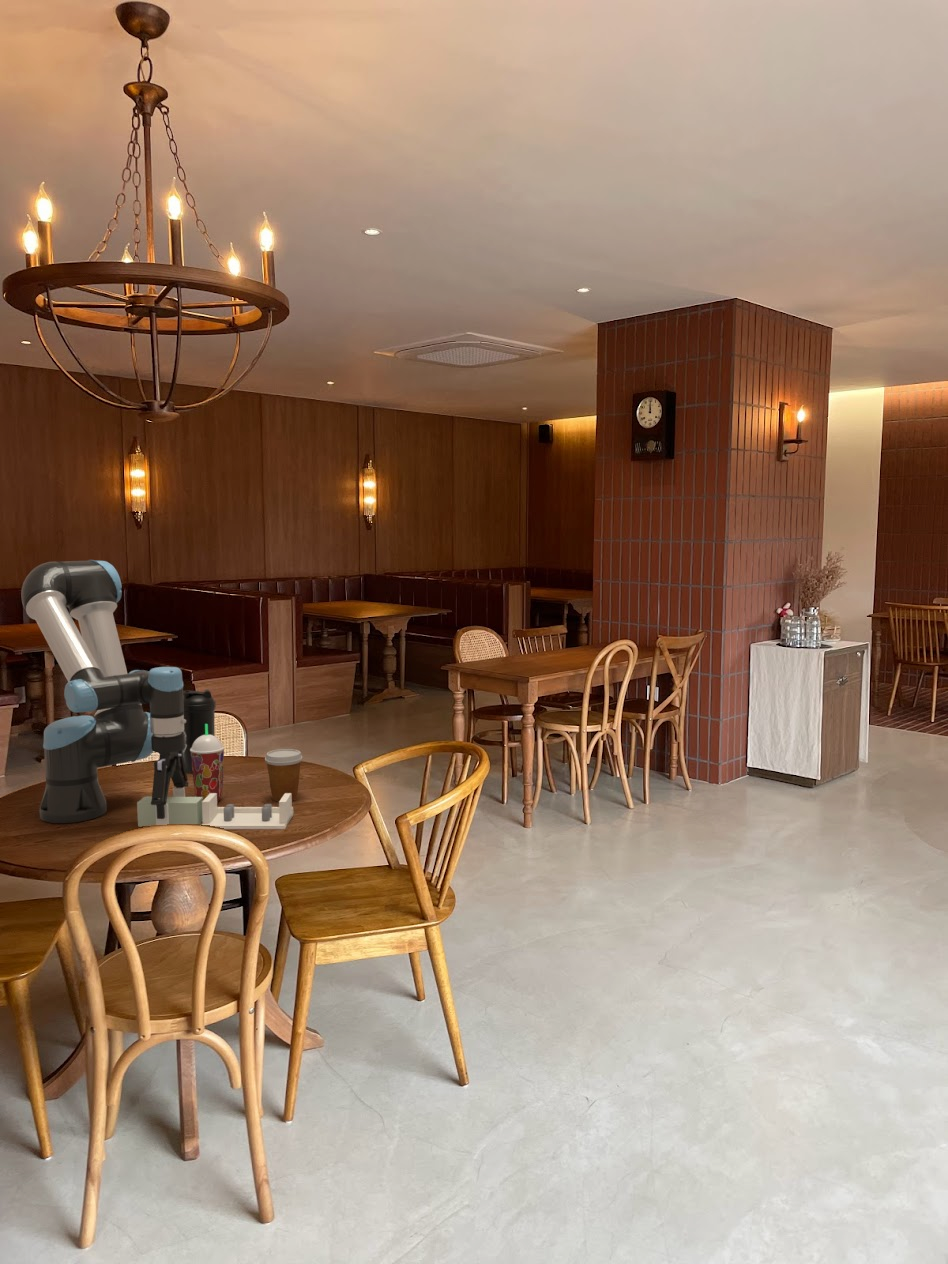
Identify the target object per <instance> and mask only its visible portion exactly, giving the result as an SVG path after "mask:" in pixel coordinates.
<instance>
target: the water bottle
mask: <svg viewBox="0 0 948 1264" xmlns="http://www.w3.org/2000/svg"><path fill="white" fill-rule="evenodd" d="M183 703H184V719H185V720H186V723H184V731H183V733H184V734H185V748H184V749H183V758H184V763H185V768H186V774H191V775H193V772H192V762H191V752H190V749H191V748H192V745H193V743H194V741H195V740H196V739H197V738H198V737H200V736H202V735H205V724H208V734H210V735H213V736H215V735H216V734H215V733H216V732H215V710H216V700H215V699H214V697H213V696H212V692H211V691H210V689H204V690H203V691H197V690H189V689H188V690H183ZM215 737H216V736H215Z"/></svg>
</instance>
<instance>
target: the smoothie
mask: <svg viewBox="0 0 948 1264" xmlns="http://www.w3.org/2000/svg"><path fill="white" fill-rule="evenodd" d="M224 750H225V746H224V745H223V743H222V742H221V740H220V739H219V738H218V737H217V736H213V735H210V734H208V724H205V735H202V736H200V737H198V738H197V739H196V740H195V741H194V743H193V745H192V748H191V749H190V752H191V762H192V772H193V774H192V779H193V780H192V781H193V788H194V789H193V790H194V791H193V792H194V797H203V800H204V799H205V798H206V797H207V796H208V795H209V794H210V793H217V803H218V802H219V801H221V799H222V796H223V794H224V793H223V792H224V791H223V790H224V788H223V787H224V761H225V760H224V759H225V751H224Z"/></svg>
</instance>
